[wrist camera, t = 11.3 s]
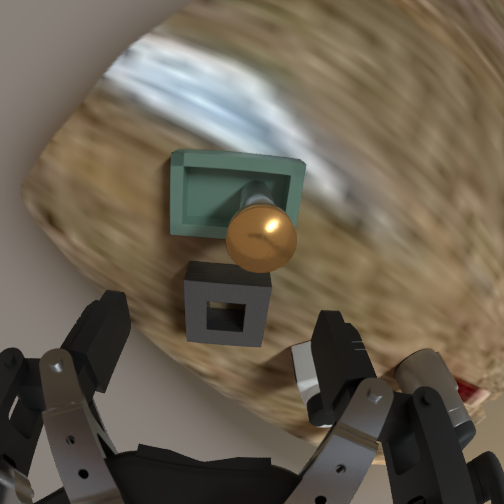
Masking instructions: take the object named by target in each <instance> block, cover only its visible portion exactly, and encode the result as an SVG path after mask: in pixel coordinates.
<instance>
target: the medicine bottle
mask: <svg viewBox="0 0 504 504" xmlns="http://www.w3.org/2000/svg"><path fill="white" fill-rule="evenodd" d="M291 355H292V361H293V367H294V373H295V379H296V385H297V387H298V390H299V392H300V395H301V397H302V400H303V402H304V405H305V407H307V411H308V417H309V422H310V423H311V424H312V425H314V426H316V427H331V426H332V425H333V423H334V422H335V420H336V419H335V414H327V415H325V412H324V407H323V403H322V398H321V393H320V389H319V384H318V380H317V375H316V371H315V366H314V362H313V357H312V353H311V341H308V342H304V343H301V344H297V345H293V346H291Z"/></svg>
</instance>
